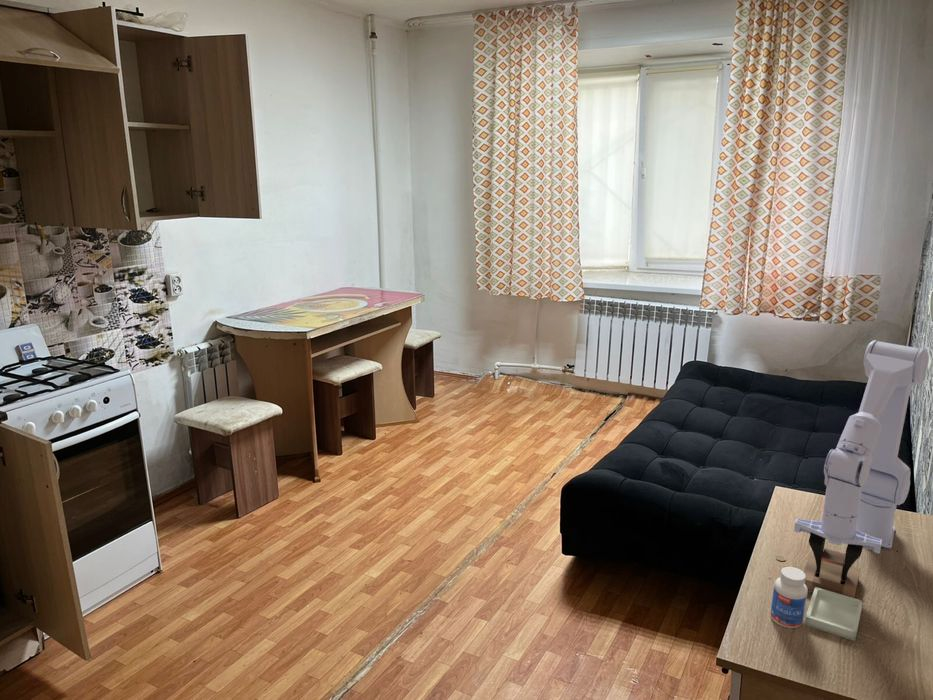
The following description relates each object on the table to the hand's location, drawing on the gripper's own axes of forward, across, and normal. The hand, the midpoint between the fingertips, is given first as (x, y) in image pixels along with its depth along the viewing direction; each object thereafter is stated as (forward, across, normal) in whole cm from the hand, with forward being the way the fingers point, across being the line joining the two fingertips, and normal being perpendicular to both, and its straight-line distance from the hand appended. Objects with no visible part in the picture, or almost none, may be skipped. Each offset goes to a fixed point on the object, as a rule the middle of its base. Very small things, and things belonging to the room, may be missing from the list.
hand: (831, 572), depth 136 cm
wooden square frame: (+3, 0, 0) cm, 3 cm away
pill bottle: (+3, -5, -15) cm, 16 cm away
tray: (+3, +2, -10) cm, 11 cm away
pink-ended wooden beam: (+2, 0, 0) cm, 2 cm away
